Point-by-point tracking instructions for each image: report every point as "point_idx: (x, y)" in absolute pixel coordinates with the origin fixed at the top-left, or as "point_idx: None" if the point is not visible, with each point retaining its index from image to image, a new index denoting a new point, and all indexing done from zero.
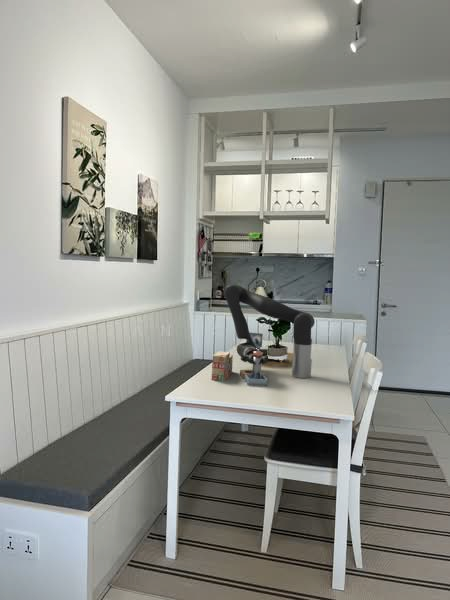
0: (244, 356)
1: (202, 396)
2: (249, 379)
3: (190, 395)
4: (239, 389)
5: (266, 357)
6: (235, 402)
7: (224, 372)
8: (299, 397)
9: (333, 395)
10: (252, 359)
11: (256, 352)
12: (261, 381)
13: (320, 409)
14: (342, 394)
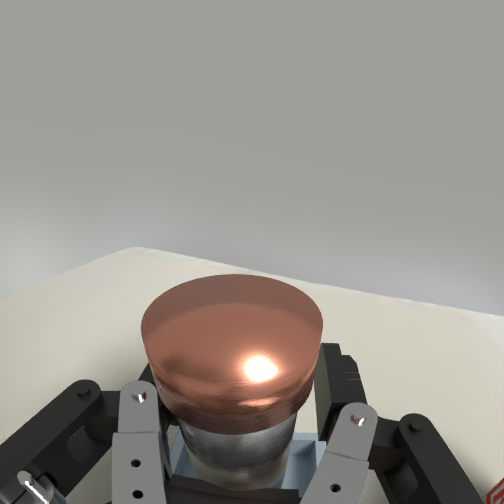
0: (436, 447)
1: (458, 321)
2: (313, 434)
3: (485, 324)
4: (364, 389)
5: (87, 386)
6: (365, 294)
7: (497, 496)
8: (146, 307)
9: (34, 302)
10: (323, 343)
11: (279, 285)
12: None
13: (163, 260)
14: (6, 302)
